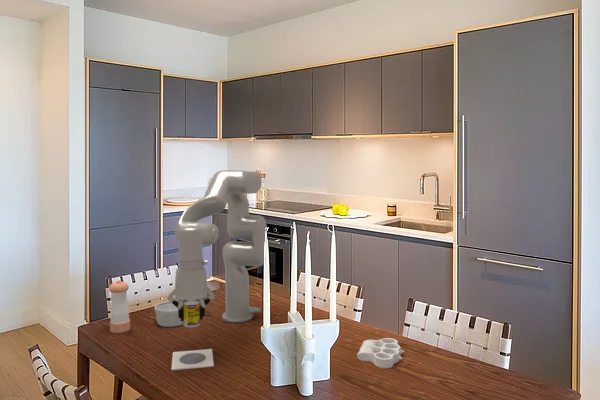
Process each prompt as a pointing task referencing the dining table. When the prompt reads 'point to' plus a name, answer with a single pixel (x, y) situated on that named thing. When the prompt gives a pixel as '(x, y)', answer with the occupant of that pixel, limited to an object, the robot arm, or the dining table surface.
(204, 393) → the dining table surface
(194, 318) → the supplement bottle
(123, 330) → the salt shaker
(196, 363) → the card
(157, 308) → the ramekin
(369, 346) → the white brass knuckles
